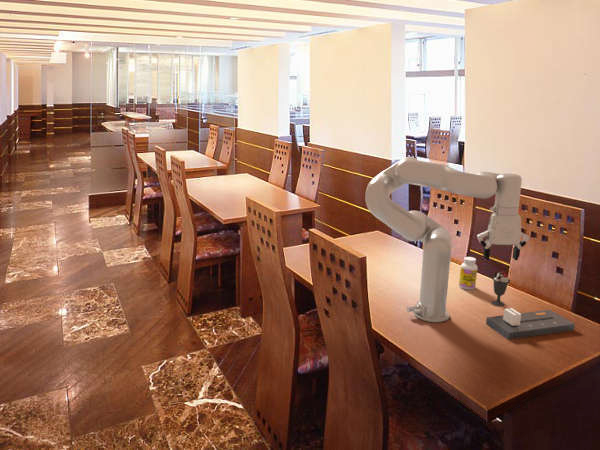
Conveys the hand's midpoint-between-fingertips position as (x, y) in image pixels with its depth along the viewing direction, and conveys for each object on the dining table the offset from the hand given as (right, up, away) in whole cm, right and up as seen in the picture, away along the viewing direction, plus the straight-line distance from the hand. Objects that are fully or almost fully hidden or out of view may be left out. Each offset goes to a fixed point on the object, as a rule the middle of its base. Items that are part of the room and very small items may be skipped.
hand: (500, 259), depth 170 cm
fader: (+4, -22, +1) cm, 22 cm away
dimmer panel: (+12, -24, +4) cm, 27 cm away
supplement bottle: (+2, -15, +40) cm, 42 cm away
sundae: (+8, -19, +23) cm, 31 cm away
